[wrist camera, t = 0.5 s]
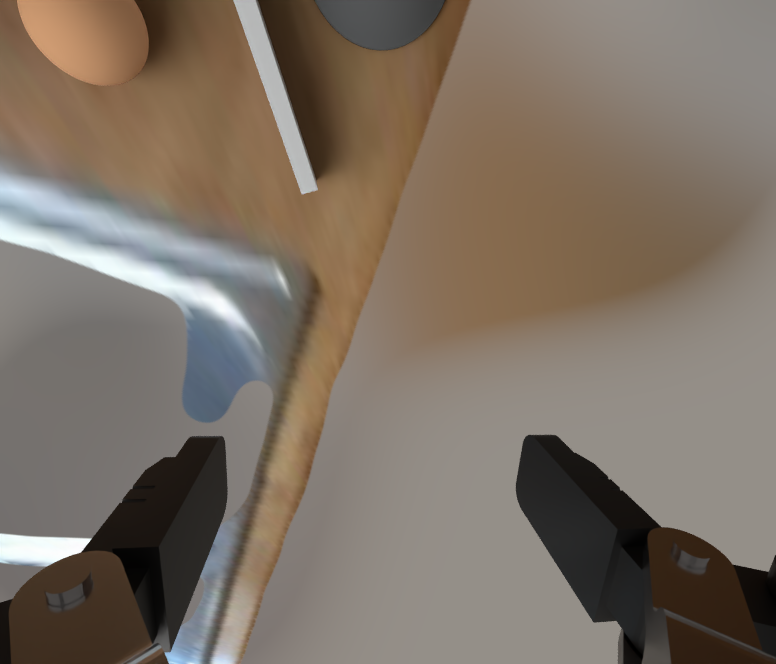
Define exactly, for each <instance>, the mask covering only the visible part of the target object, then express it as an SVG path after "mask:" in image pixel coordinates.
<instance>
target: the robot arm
mask: <svg viewBox="0 0 776 664" xmlns="http://www.w3.org/2000/svg"><path fill="white" fill-rule="evenodd" d="M226 470H227V469H226V450H225V440H224V438H223V437H222V436H196V437H195V436H192V437H190V438H189V439H188V440H187V441H186V443H185V444H184V446H183V447H182V449H181V450H180V451H179V453H178V454H177V456H176V457H165V458H163V459H161V460H160V461H159V462H157V463H156V464H154V465H153V466H151V467H150V468H148V469H147V470H145V472H144V473H143V474H142V475H141V477H140V478H139V479H138V480H137V482H136V483H135V484H134V485H133V489H131V490H130V491H129V492H128V493H127V494H126V496H125V497H124V498H123V501H122V503H119V505H118V506H117V507H116V509H115V510H114V511H113V512H112V514H111V515H110V516H109V517H108V519H107V520H106V521H105V523H104V524H103V525H102V526H101V528H100V529H99V530H98V532H97V533H96V534H95V535H94V537H93V538H92V539H91V541H90V542H89V543H88V544H87V546H86V547H85V548H84V550H83V551H82V552H81V553H78V554H75V555H72V556H69V557H66V558H63V559H61V560H59V561H57V562H55V563H53V564H51V565H49V566H48V567H46V568H45V569H43V570H41V571H40V572H38V573H37V574H36V575H34V576H33V577H32V578H31V579H29V580H28V581H27V582H26V583H25V584H24V585H23V586H22V587H21V588H20V590H19V591H18V592H17V593H16V595H15V596H14V598H13V599H11V600H8V601H4V602H1V603H0V664H169V663H168V661H167V658H166V656H165V653H164V652H171V649H172V647H173V644H174V642H175V639H176V636H177V634H178V631H179V629H180V626H181V624H182V621H183V619H184V616H185V613H186V611H187V608H188V606H189V603H190V601H191V598H192V596H193V593H194V591H195V588H196V585H197V583H198V580H199V578H200V575H201V573H202V570H203V568H204V565H205V562H206V560H207V557H208V555H209V552H210V550H211V547H212V545H213V542H214V539H215V537H216V534H217V532H218V529H219V527H220V524H221V522H222V519H223V516H224V513H225V509H226V503H227V471H226ZM516 494H517V500H518V502H519V505H520V507H521V509H522V511H523V512H524V514H525V516H526V517H527V518H528V520H529V522H530V523H531V525H532V527H533V528H534V530H535V531H536V533H537V534H538V536H539V537H540V539H541V541H542V542H543V544H544V545H545V547H546V549H547V550H548V552H549V553H550V555H551V556H552V558H553V559H554V561H555V563H556V564H557V566H558V567H559V569H560V570H561V572H562V574H563V575H564V577H565V578H566V580H567V581H568V583H569V585H570V586H571V588H572V589H573V591H574V592H575V594H576V596H577V597H578V599H579V600H580V602H581V603H582V605H583V607H584V608H585V610H586V611H587V613H588V614H589V616H590V618H591V619H592V621H593V622H606V621H617V622H618V624H619V625H620V627H621V628H622V629H621V632H620V636H619V641H618V664H776V555H775V557H774V560H773V563H772V565H771V568H770V570H769V572H766V571H761V570H756V569H752V568H747V567H741V566H736V565H732V563H731V562H730V561H729V560H728V558H727V557H726V556H725V555H724V554H722V553H721V552H720V551H719V550H718V549H716V548H715V547H714V546H712V545H711V544H709V543H708V542H706V541H704V540H703V539H701V538H699V537H696V536H695V535H692V534H690V533H687V532H685V531H681V530H678V529H674V528H665V527H661V526H660V525H659V524H658V523H656V522H655V521H654V520H653V519H652V518H651V517H650V516H649V515H648V514H647V513H646V512H645V511H644V510H643V509H642V508H641V507H639V506H638V505H637V504H636V503H635V502H634V501H633V500H632V499H631V498H630V497H629V496H628V495H627V494H626V493H625V492H623V491H620V488H619V487H618V486H617V485H616V484H615V483H614V482H613V481H612V480H611V479H610V480H609V479H608V476H607V475H606V474H604V473H603V472H602V471H601V470H600V469H599V468H598V467H597V466H596V465H595V464H594V463H592V462H590V461H589V460H587V459H585V458H584V457H582V456H580V455H578V454H577V453H574V452H573V451H572V450H571V449H570V448H569V447H568V446H567V445H566V444H565V443H564V442H563V441H562V440H561V439H560V438H559V437H557V436H556V435H528V436H526V437H525V439H524V441H523V446H522V452H521V458H520V463H519V469H518V475H517V481H516Z"/></svg>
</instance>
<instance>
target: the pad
mask: <svg viewBox="0 0 776 664" xmlns="http://www.w3.org/2000/svg"><path fill="white" fill-rule="evenodd" d="M444 1H445V0H315V2H316V4H317V6H318V7H319V9H320V11H321V13H322V14H323V15H324V17H325V18H326V20H327V21H328V22H329V23H330V25H331V26H332V27H333V28H334V29H335V30H336V31H337V32H338V33H340V34H341V35H342V36H343V37H344V38H346V39H347V40H349V41H351V42H352V43H354V44H356V45H359V46H361V47H364V48H367V49H372V50H391V49H395V48H399V47H401V46H404V45H406V44H408V43H410V42H412V41H413V40H415V39H416V38H417V37H419V36H420V35H421V34H422V33H423V32H424V31H425V30H426V29H427V28H428V27H429V26H430V25H431V24H432V22H433V21H434V20H435V18H436V17H437V15H438V13H439V12H440V10H441V8H442V6H443V4H444Z"/></svg>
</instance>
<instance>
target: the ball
mask: <svg viewBox="0 0 776 664" xmlns="http://www.w3.org/2000/svg"><path fill="white" fill-rule="evenodd" d="M17 3H18V9H19V12H20V16H21V19H22V21H23V24H24V26H25V28H26V30H27V32H28V34H29V36H30V37H31V39H32V40H33V42H34V43H35V44H36V46H37V47H38V48H39V50H40V51H41V52H42V53H43V54H44V55H45V56H46V57H47V58H48V59H49V60H50V61H51V62H52V63H54V64H55V65H56V66H57V67H59V68H60V69H61V70H63V71H64V72H66V73H68V74H69V75H71V76H73V77H75V78H77V79H79V80H81V81H84V82H87V83H90V84H95V85H100V86H115V85H120V84H123V83H126V82H128V81H130V80H131V79H133V78H134V77H135V76H137V75H138V74H139V72H140V71H141V70H142V68H143V67H144V65H145V63H146V60H147V56H148V51H149V38H148V32H147V27H146V24H145V21H144V18H143V16H142V13H141V11H140V9H139V7H138V6H137V4H136V2H135V1H134V0H17Z"/></svg>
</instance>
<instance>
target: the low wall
mask: <svg viewBox="0 0 776 664" xmlns="http://www.w3.org/2000/svg"><path fill="white" fill-rule="evenodd" d="M234 3H235V6H236V9H237V11H238V14H239V17H240V20H241V23H242V26H243V28H244V31H245V34H246V37H247V40H248V43H249V46H250V48H251V51H252V54H253V57H254V60H255V63H256V65H257V68H258V71H259V74H260V77H261V80H262V82H263V85H264V88H265V91H266V94H267V97H268V100H269V102H270V105H271V108H272V111H273V114H274V117H275V119H276V122H277V125H278V128H279V131H280V134H281V137H282V139H283V142H284V145H285V148H286V151H287V154H288V156H289V159H290V162H291V165H292V168H293V171H294V173H295V176H296V179H297V182H298V185H299V188H300V191H301V193H302V194H305V193H309V192H312V191H315V190H318V187H317V181H316V177H315V174H314V171H313V168H312V165H311V162H310V159H309V156H308V153H307V150H306V147H305V144H304V141H303V138H302V134H301V131H300V128H299V125H298V122H297V119H296V116H295V113H294V110H293V107H292V104H291V101H290V98H289V95H288V92H287V88H286V85H285V82H284V79H283V76H282V73H281V70H280V67H279V64H278V61H277V58H276V55H275V52H274V49H273V45H272V42H271V39H270V36H269V33H268V30H267V27H266V24H265V21H264V18H263V15H262V12H261V9H260V6H259V3H258V0H234Z"/></svg>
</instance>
